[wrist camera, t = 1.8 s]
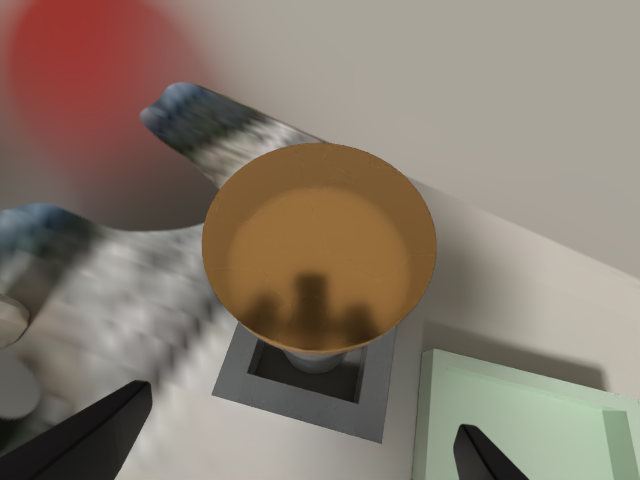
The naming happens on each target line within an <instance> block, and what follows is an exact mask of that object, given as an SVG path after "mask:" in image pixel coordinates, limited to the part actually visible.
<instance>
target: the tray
mask: <svg viewBox="0 0 640 480" xmlns="http://www.w3.org/2000/svg"><path fill="white" fill-rule="evenodd" d="M461 424H470V425H475V426H477V427H478V428H479V429H480V430H481V431H482V432H483V433H484V434H485V435H486V436H487V437H488V438H489V439H490V440H491V441H492V442H493V443H494V444H495V445H496V446H497V447H498V448H499V449H500V450H501V451H502V452H503V453H504V454H505V455H506V456H507V457H508V458H509V459H510V460H511V461H512V462H513V463H514V464H515V465H516V466H517V467H518V468H519V469H520V470H521V471H522V472H523V473H524V474H525V475H526V476H527V477H528V478H529V479H530V480H640V407H639V402H638V400H637V399H634V398H630V397H626V396H622V395H618V394H614V393H610V392H606V391H602V390H598V389H594V388H590V387H586V386H582V385H578V384H574V383H570V382H566V381H562V380H558V379H554V378H550V377H546V376H542V375H538V374H534V373H530V372H527V371H523V370H519V369H515V368H511V367H507V366H503V365H499V364H495V363H491V362H487V361H483V360H479V359H475V358H471V357H467V356H463V355H459V354H455V353H451V352H447V351H443V350H439V349H435V348H433V349H430V350H428V351H426V352H423V353H422V361H421V374H420V386H419V399H418V411H417V424H416V436H415V449H414V461H413V474H412V480H459V477H458V472H457V467H456V463H455V458H454V453H453V445H454V441H455V438H456V435H457V431H458V428H459V426H460V425H461Z"/></svg>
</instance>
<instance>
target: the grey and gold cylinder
mask: <svg viewBox="0 0 640 480" xmlns="http://www.w3.org/2000/svg"><path fill="white" fill-rule="evenodd" d="M202 257H203V262H204V267H205V271H206V274H207V276H208V279H209V282H210V284H211V286H212V288H213V290H214V292H215V293H216V295H217V297H218V298H219V300H220V301H221V302H222V303H223V305H224V306H225V307H226V309H227V310H228V311H229V312H230V313H231V314H232V315H233V316H234V317H235V318H236V319H237V320H238V321H239V322H240V323H241V324H242V325H243V326H244V327H245V328H246V329H247V330H248V331H249V332H251V333H252V334H254V335H255V336H257V337H258V338H259V339H261V340H263V341H265V342H267V343H268V344H270V345H272V346H274V347H277V348H280V349H282V350H283V352H284V353H285V355H286V356H287V358H288V360H289V361H290V362H291V363H292V364H293V365H294V366H295V367H296V368H297V369H299V370H301V371H303V372H306V373H310V374H321V373H325V372H328V371H330V370H332V369H333V368H335V367H336V366H337V365H338V364H339V363H340V362H341V361H342V359H343V358H344V357H345V355H346V354H347V353H348V352H349V351H353V350H356V349H359V348H361V347H364V346H366V345H368V344H370V343H372V342H374V341H376V340H377V339H379V338H381V337H382V336H383V335H385V334H386V333H387V332H389V331H390V330H391V329H392V328H394V327H395V326H396V325H397V324H398V323H399V322H400V321H401V320H403V319H404V318H405V317H406V316H407V315H408V313H409V312H410V311H411V310H412V309H413V308H414V307H415V306H416V304H417V303H418V302H419V300H420V299H421V297H422V296H423V294H424V292H425V290H426V288H427V286H428V284H429V282H430V280H431V276H432V273H433V270H434V266H435V259H436V235H435V228H434V224H433V221H432V218H431V214H430V212H429V210H428V208H427V206H426V203H425V201H424V200H423V198H422V197H421V195H420V194H419V192H418V191H417V189H416V188H415V187H414V186H413V185H412V183H411V182H410V181H409V180H408V179H407V178H406V177H405V176H404V175H403V174H402V173H401V172H399V171H398V170H397V169H395V168H394V167H393V166H392V165H390V164H388V163H387V162H385V161H383V160H382V159H380V158H378V157H376V156H374V155H372V154H370V153H368V152H365V151H362V150H359V149H356V148H352V147H348V146H344V145H337V144H331V143H305V144H298V145H292V146H288V147H283V148H280V149H277V150H274V151H271V152H268V153H266V154H264V155H262V156H260V157H258V158H256V159H254V160H253V161H251V162H249V163H248V164H246V165H245V166H244V167H242V168H241V169H240V170H238V171H237V172H236V173H235V174H234V175H233V176H232V177H231V178H230V179H229V180H228V181H227V182H226V183H225V184H224V185H223V187H222V188H221V189H220V191H219V192H218V193H217V195H216V197H215V199H214V200H213V202H212V204H211V207H210V208H209V211H208V213H207V216H206V220H205V223H204V227H203V234H202Z"/></svg>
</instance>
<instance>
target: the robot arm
mask: <svg viewBox="0 0 640 480" xmlns="http://www.w3.org/2000/svg"><path fill="white" fill-rule="evenodd" d="M151 409H152V392H151V384H150V382H148V381H142V380H134V381H132V382H130V383H129V384H127V385H125V386H123V387H122V388H120V389H118V390H116V391H115V392H113V393H111V394H110V395H108V396H106V397H104V398H103V399H101V400H99V401H97V402H96V403H94V404H92V405H90V406H89V407H87V408H85V409H83V410H82V411H80V412H78V413H77V414H75V415H73V416H71V417H70V418H68V419H66V420H64V421H63V422H61V423H59V424H57V425H56V426H54V427H52V428H50V429H49V430H47V431H45V432H44V433H42V434H40V435H38V436H37V437H35V438H33V439H31V440H30V441H28V442H26V443H24V444H23V445H21V446H19V447H17V448H16V449H14V450H12V451H11V452H9V453H7V454H5V455H4V456H2V457H0V480H114V479H115V477H116V476H117V474H118V472H119V471H120V469H121V467H122V465H123V464H124V462H125V460H126V458H127V456H128V454H129V452H130V450H131V448H132V446H133V444H134V443H135V441H136V439H137V437H138V435H139V433H140V431H141V429H142V427H143V425H144V423H145V421H146V419H147V417H148V415H149V413H150V411H151ZM453 453H454V458H455V463H456V467H457V472H458V477H459V480H530V479H529V478H528V477H527V476H526V475H525V474H524V473H523V472H522V471H521V470H520V469H519V468H518V467H517V466H516V465H515V464H514V463H513V462H512V461H511V460H510V459H509V458H508V457H507V456H506V455H505V454H504V453H503V452H502V451H501V450H500V449H499V448H498V447H497V446H496V445H495V444H494V443H493V442H492V441H491V440H490V439H489V438H488V437H487V436H486V435H485V434H484V433H483V432H482V431H481V430H480V429H479V428H478V427H477V426H475V425H470V424H461V425H460V426H459V428H458V431H457V435H456V438H455V441H454V445H453Z"/></svg>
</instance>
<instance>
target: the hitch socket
mask: <svg viewBox="0 0 640 480" xmlns="http://www.w3.org/2000/svg"><path fill="white" fill-rule="evenodd" d="M395 332H396V326H395V327H394V328H392V329H391V330H390V331H389V332H387V333H386V334H385V335H383V336H382V337H381V338H379V339H377V340H376V341H374V342H372V343H370V344H368V345H366V346H364V347H363V349H362V355H361V361H360V367H359V373H358V379H357V385H356V391H355V396H354V402H353V403H352V402H349V401H345V400H341V399H338V398H334V397H331V396H327V395H323V394H320V393H316V392H313V391H309V390H305V389H302V388H298V387H294V386H291V385H287V384H284V383H280V382H276V381H273V380H269V379H265V378H262V377H258V376H255V372H256V369H257V366H258V363H259V360H260V356H261V353H262V350H263V347H264V344H265V341H263V340H261V339H259V338H258V337H257V336H255V335H254V334H252V333H251V332H249V331H248V330H247V329H246V328H245V327H244V326H243V325H242V324H241V323H240V322H238V324H237V327H236V330H235V332H234V335H233V338H232V341H231V343H230V346H229V349H228V351H227V354H226V357H225V359H224V362H223V365H222V368H221V370H220V373H219V376H218V378H217V381H216V384H215V386H214V389H213V392H212V395H213V396H217V397H220V398H224V399H227V400H231V401H234V402H238V403H241V404H245V405H248V406H252V407H255V408H259V409H262V410H265V411H269V412H272V413H276V414H279V415H283V416H286V417H290V418H293V419H297V420H300V421H304V422H307V423H311V424H314V425H318V426H321V427H325V428H328V429H332V430H335V431H339V432H342V433H346V434H349V435H353V436H356V437H360V438H363V439H367V440H370V441H374V442H377V443H381V444H382V438H383V430H384V421H385V413H386V405H387V397H388V389H389V381H390V373H391V365H392V357H393V349H394V340H395Z"/></svg>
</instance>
